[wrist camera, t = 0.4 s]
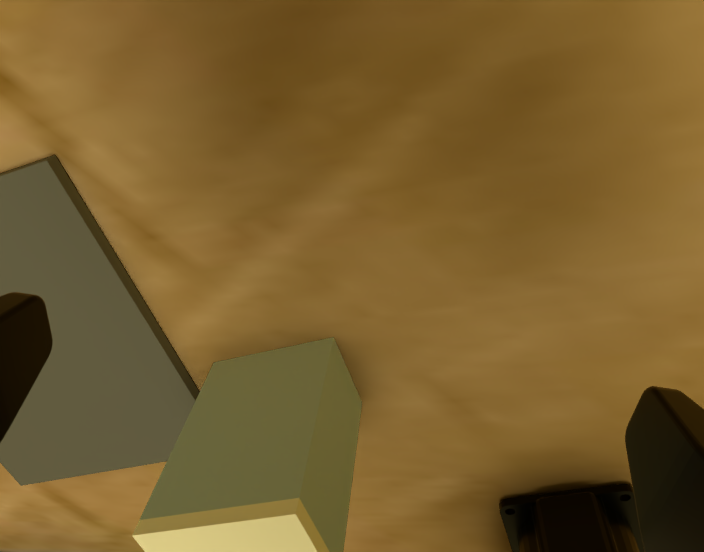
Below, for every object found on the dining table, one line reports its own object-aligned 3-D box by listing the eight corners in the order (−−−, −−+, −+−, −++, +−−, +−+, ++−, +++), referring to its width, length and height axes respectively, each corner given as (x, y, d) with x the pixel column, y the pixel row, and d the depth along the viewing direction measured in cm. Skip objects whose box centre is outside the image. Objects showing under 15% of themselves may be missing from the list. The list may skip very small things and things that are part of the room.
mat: (229, 442, 30) (226, 451, 29) (27, 477, 33) (20, 485, 33) (55, 154, 22) (46, 160, 22) (-185, 236, 26) (-197, 242, 25)
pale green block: (362, 402, 28) (338, 587, 20) (248, 422, 29) (186, 602, 21) (333, 337, 26) (295, 513, 18) (213, 362, 27) (132, 535, 20)
